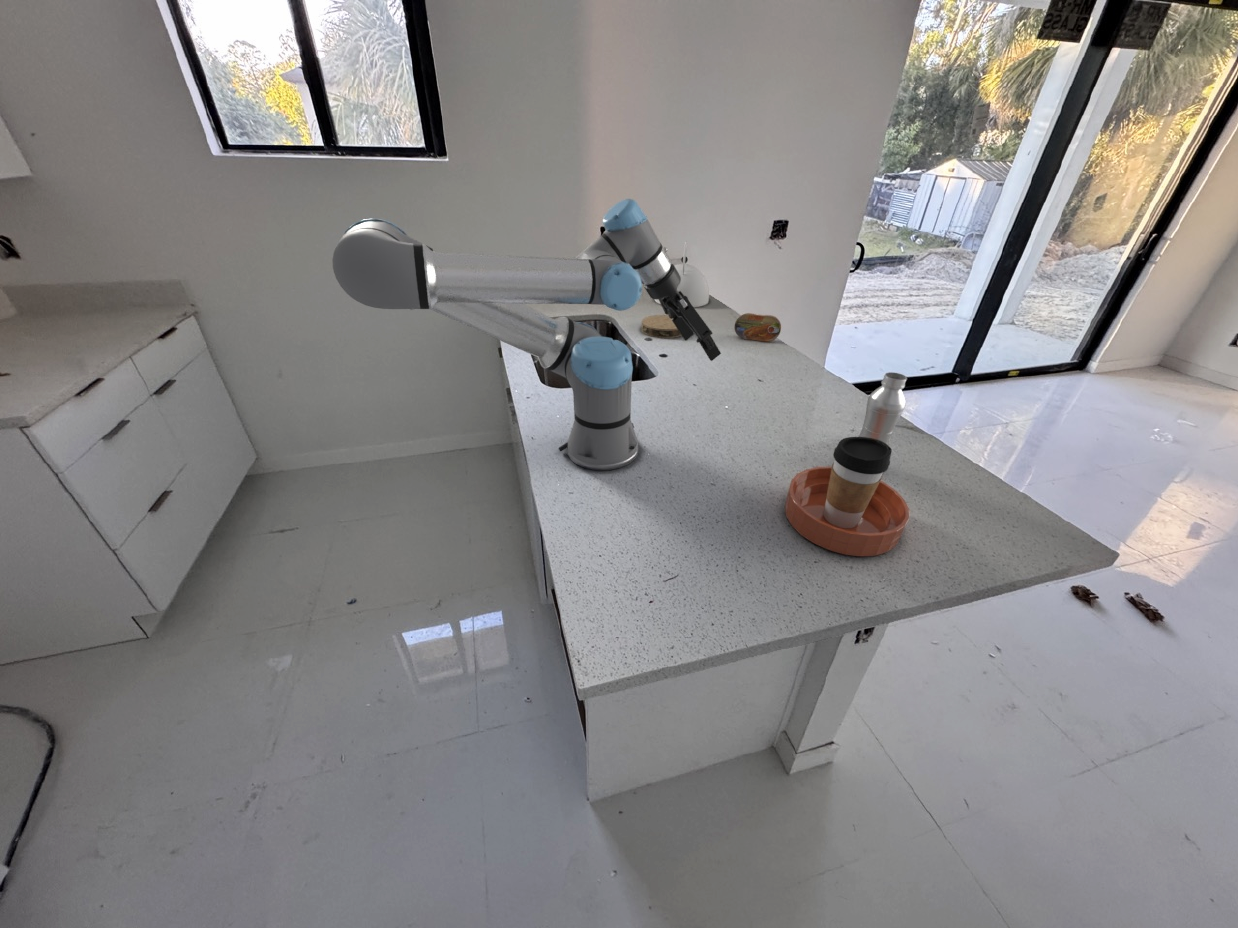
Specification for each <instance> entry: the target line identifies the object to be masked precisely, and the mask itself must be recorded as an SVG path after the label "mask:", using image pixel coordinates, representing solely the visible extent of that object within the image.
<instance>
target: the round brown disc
mask: <svg viewBox="0 0 1238 928" xmlns="http://www.w3.org/2000/svg"><path fill="white" fill-rule="evenodd" d="M672 320H673V318H672V319H671V318H669V315H667V314H655V315H649V316H645V317H644V318H642V320H641V332H642V333H643V334H645V335H647V336H650V337H654V338H660V339H670V338H678V337H682V335H681V334H680V332H679V331H678V329H677V328H676V326H675V324H674V323H673V321H672Z"/></svg>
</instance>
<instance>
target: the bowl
mask: <svg viewBox="0 0 1238 928" xmlns="http://www.w3.org/2000/svg"><path fill="white" fill-rule="evenodd" d="M831 469H832V466H816V467H810V468H807V469H804V470H802V471H800V472H798V473H797V474H796V475H795V476H794V477H793V478H792V479H791V481H790V483H789V487H788V491H787V495H786V500H785V502H784V512H785V516H786V518H787V519H788V522H789V524H790V525H791V526H792V527H793V528H794V530H795V531H797V532H798V534H800V535H801V536H802V537H803V538H805V539H807V540H808V541H810V542H811V543H813V544H815V545H816V546H819V547H821V548H823V549H825V550H828V551H831V552H835V553H838V554H841V555H846V556H854V557H874V556H879V555H882V554H885V553H888V552H890V551H892V549H894V548H895V547H897V545H898V544H899V542H900V540H901V537H902V536H903V534H904V531H905V530H906V529H905V528H906V526H907V525H908V523H909V521H910V508H909V506H908V503H907V502H906V500H905V498H904V497H903V496H902V495H901V494H900V493H899V492H898V491H897V490H896V489H894V488H893V487H892V486H890V485H889V484H888V483H886V482H885V481H883V480H881V481H880V483H879V485H878V487H877V488H876V490H875V492H874V494H873V496H872V498H871V500H870V502H869V504H868V506H867V508H866V509H865V511H864V513H863V515H862V517H861V519H860V521H859V523H858V525H857V526H856V527H853V528H840V527H837V526H834V525H832V524H831V523H829V522H828V521H827V520H826V519H825V518H824V514H823V513H824V508H825V503H826V498H827V491H828V486H829V480H830V475H831Z"/></svg>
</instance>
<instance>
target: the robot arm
mask: <svg viewBox="0 0 1238 928" xmlns="http://www.w3.org/2000/svg"><path fill="white" fill-rule="evenodd" d="M602 224H603V226H604V229H605V231H603V233H602V234H601V235H599V236H598V237H597V238H596V239H595V240H594V241H593V242H592V243H590V244H589V245H588V246H587V247H586V248H585V249H584V250H582V251H581V252H580V253H579V254H578V255H577V256H574V257H556V256H555V257H554V256H535V255H533V256H531V255H511V254H509V255H508V254H489V253H471V252H470V253H469V252H467V253H466V252H449V251H447V252H446V251H445V252H444V251H436V250H435V249H434V248H432V247H430V246H428V245H426V244H425V243H423V242H421V241H418V240H417V239H414V238H413V237H411V236H409V235H408V234H407V233H406V232H405V231H404V230H403V229H402V228H400V227H399V226H398V225H396V224H395V223H393V222H391V221H388V220H385V219H380V218H366V219H365V218H364V219H362V220H359V221H356V222H354V223H353V224H351V225H350V226H349V227H347V229H346V230H345V231H344V234H343V235H342V237H341V238H340V240H339V241H338V242H337V244H336V246H335V247H334V249H333V254H332V259H331V260H332V261H331V262H332V270H333V274H334V276H335V279H336V281H337V283H338V284H339V286H340V287H341V289H342V291H344V292H345V293H346V294H347V295H348V296H349V297H350V298H351V299H353V300H355V301H356V302H358V303H359V304H362V305H364V306H366V307H371V308H375V309H382V310H410V311H414V310H432V312H436V313H437V314H440V315H442V316H443V317H444V316H445V317H447V318H449V319H451V320H454V321H455V322H458V323H460V324H463V325H465V326H466V327H468V328H471V329H473V330H476V331H477V332H480V333H482V334H485V335H486V336H489V337H491V338H494V339H496V340H498V341H500V342H503V343H505V344H507V345H509V346H511V347H513V348H516V349H518V350H520V351H523V352H525V353H526V354H529V355H531V356H534V357H536V358H537V359H538V360H539V364H540V366H541V367H542V368H543V369H545V370H548V371H550V372H553V373H554V374H557V375H559V376H561V377H563V378H565V379H566V381H567V382H568V385H569V386H570V387H571V389H572V390H571V391H572V398H573V412H574V413H573V415H574V420H573V424H572V426H571V427H572V428H571V430H570V433H569V437H568V440H567V442H565V443H564V444H562V445H561V446H559V447H558V450H559V452H562V451H564V450H565V449H567V455H568V458H569V459H570V460H571V461H572V462H573V463H574V464H575V465H578V466H579V467H581V468H585V469H588V470H592V471H612V470H617V469H620V468H623V467H626V466H628V465H629V464H631V463H632V462H634V461H635V460H636V458H637V457H638V455H639V439H638V437H637V434H636V431H635V426H634V423H633V422H632V419H631V413H632V384H633V383H632V381H633V370H634V365H633V361H632V353H631V351H630V349H629V347H628V346H627V345H626V344H625V343H624V342H621V341H620V340H618V339H613V338H612V337H608V336H603V335H602V334H601V333H600V332H599V331H598V330H597V329H596V328H595V327H593V326H592V325H589V324H588V323H584V322H580V321H575V320H573V319H570V318H568V317H567V316H564V315H561V316H559V317H557V318H556V317H555V318H553V317H551V316H549V315H546V314H545V313H543V312H541V311H539V310H536V309H534V308H533V307H530V306H528V305H527V304H531V305H532V304H535V305H537V304H538V305H539V304H540V305H541V304H542V305H543V304H545V305H550V304H551V305H602V306H604V305H605V306H606V307H607V308H608V309H611V310H615V311H621V312H623V311H626V310H630V309H631V308H633V307H634V306H635V305H636V304H637V303H638V301H639V300H640V298H641V296H642V291H643V288H644V289H645V291H646V293H647V294H648V296H649V297H650V298H651V299H652V300H654V299H655V300H658V299H659V301H660V303H661V304H660V305H661V307H662V310H663V312H664V315H669V318H671V319H672V318H673V320H672V321H673V323H674V324H675V326H676V328H677V329H678V331H679V332H680V334H681V335H682V336H681V337H682V339H683V340H684V341H685V342H687V340H689V339H690V338H692V336H694V335H695V336H696V337H697V339H696V341H695V342H696V343H697V344H699V345H700V346H701V348H702V350H703V352H704V353H705V354H706V356H707V358H708V359H709V361H711V362H713V361H714V360H715V359H716V358H718V357H719V356H720V355H721V354H722V353H721V351H720V349H719V347H718V346H717V344H716V341H715V340H714V339H713V337H712V335H713V331H712V330H711V329H710V328H709V326H708V325H707V323H706V321H704V319H703V318H702V317H701V315H700V314H699V312H698V311H697V310H696V308H695V307H693V306H692V305H691V303H690V301H689V300H688V298H687V296H684V295H683V294H682V292H681V291H679V292H678V291H677V288H678V286H679V284H680V281H681V277H680V275H679V273H678V271H677V270H676V268H675V266H674V265H675V264H674V263H672V260H671V258H670V257H669V255H668V254H667V252H668V247H667V246H663V245H662V242H660V240H659V238H658V235H657V234H656V233H655V230H654V229H653V226H652V225H651V223H650V222H649V219H648V217H647V215H646V214H645V213H644V212H643V210H642V208H641V207H640V205H639V204H638V203H637V201H636V200H634V199H633V198H625V199H623V200H620V201H619V202H617V203H615V204H614V205H612V206H611V207H610V209H608V210H607V212H606V213H605V214H604V215H603V218H602ZM655 300H654V301H655Z"/></svg>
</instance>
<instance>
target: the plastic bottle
mask: <svg viewBox="0 0 1238 928" xmlns="http://www.w3.org/2000/svg"><path fill="white" fill-rule="evenodd" d="M907 380H908V378H907V376H906V375H904V374H903V373H899V372H893V371H892V372H886V373H885V374H884V375H883V378H882V380H881V382H880V383H881V386H879V387H877V388H875V390H874V391H872V392H871V393H870V394H869V396H868V397H867V400H866V401H867V402H866V408H865V415H864V419H863V423H862V427H861V430H860V433H859V435H858V437H867V438H873V439H877V440H880V441H882V442H884V443H886V444H887V445H888V446H889V445H890V443H891V438H892V435H893V433H894V430H895V428H896V425H897V423H898V421H899V419H900V417H901V416H902V414H903V412H904V410H905V409H906V406H907V405H906V404H907V403H906V402H907V401H906V397H905V394H904V392H903V389H904V388H905V387H906V382H907ZM889 447H890V446H889Z"/></svg>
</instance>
